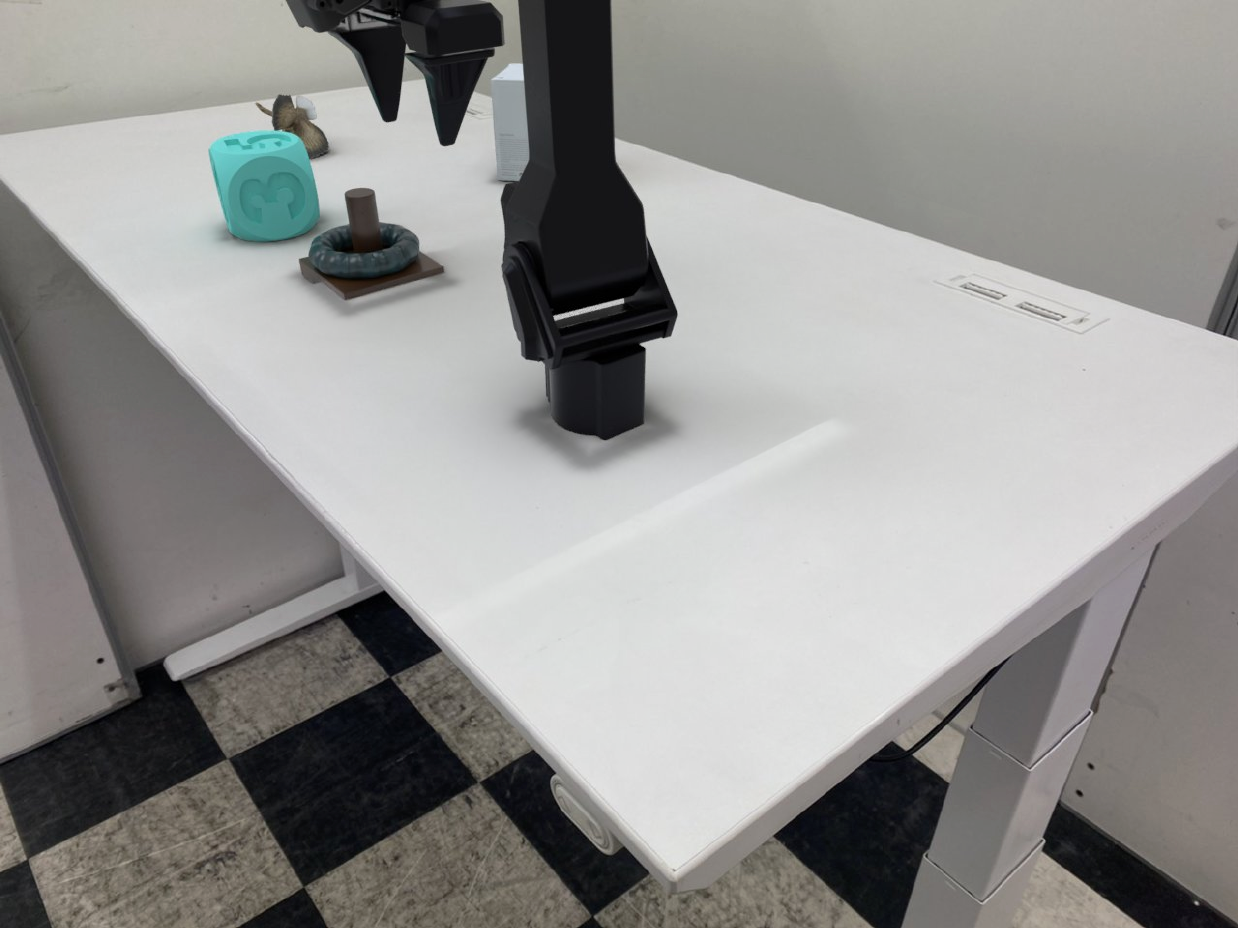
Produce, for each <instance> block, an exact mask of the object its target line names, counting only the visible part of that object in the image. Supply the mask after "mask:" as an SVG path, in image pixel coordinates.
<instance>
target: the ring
mask: <svg viewBox="0 0 1238 928" xmlns="http://www.w3.org/2000/svg"><path fill="white" fill-rule="evenodd" d="M379 223H380V230H381V237H382V244H383V246H386V247H390V248H387V249H383V250H379V251H376V252H372V253H355V254H349V253H343V252H341V251H343V250H347V249H351V248H353V243H352V237H351V231H350V225H349V223H348V224H343V225H340V226H336V227H332V228H329V229H328V230H326V231H324V232H323V233H320V234H319V235H317V236H316V237H314V238H313V239H312V242H311V243H310V246H309V250H308V256H307V257H309V260H310V262H311V263H312V264H313V265H314V266H315V267H316V268H318V269H319V270H320V271H322V272H323V273H325V274H327V275H331V276H336V277H341V278H347V279H360V278H376V277H380V276H384V275H388V274H391V273H395V272H399V271H401V270H403V269H404V268H405V267H407V266H408V265H410V264H411V263H413V262H414V261H415V260H416V259H417V258H418V255H419V251H420V239H419V237H418V235H417V234H416V233H415V232H412V231H411V230H409V229H408V228H406V227H405V226H402V225H400V224H397V223H396V224H395V223H389V222H382V221H379Z"/></svg>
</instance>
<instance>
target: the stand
mask: <svg viewBox="0 0 1238 928" xmlns="http://www.w3.org/2000/svg"><path fill="white" fill-rule="evenodd" d="M344 200H345V208H346V212H347V218H348V224H349V225H350V231H351V237H352V243H353V248H351V249H347V250H343V251H341V252H343V253H349V254H355V253H372V252H376V251H379V250H383V249H387V248H390V247H386V246H383V244H382V237H381V230H380V223H379V222H380V217H379V211H378V204H377V196H376V192H375V190H374V189H372V188H369V187H357V188H356V187H355V188H351V189H348V190H346V191H345V192H344ZM298 264H299V268H300V273H301V276H302V277H304V278H305V279H306V280H308V281H309V282H310V283H311V284H312V285H316V284H319V283H322V284H323V285H325V287H327V288H328V289H329V290H331V291H332V292H334V293H335V294H336V295H337V296H339V297H340V298H342V300H344V301H348V300H352V299H356V298H359V297H362V296H366V295H369V294H372V293H377V292H380V291H384V290H387V289H391V288H395V287H398V286H401V285H405V284H408V283H413V282H415V281H419V280H423V279H427V278H430V277H433V276H436V275H440V274H443V273H445V267H444V265H443V264H440V263H439V262H437V261H436V260H434V259H433V258H431V257H429V256H428V255H426V254H425V253H423V252H421V251H420V250H419V255H418V258H417V259H416V260H415V261H414V262H413V263H411V264H410V265H408V266H407V267H405V268H404V269H403V270H401V271H399V272H395V273H391V274H388V275H384V276H380V277H376V278H360V279H347V278H341V277H336V276H331V275H327V274H325V273H323V272H322V271H320V270H319V269H318V268H316V267H315V266H314V265H313V264H312V263H311V262H310V260H309V256H306V257H301V258H298Z"/></svg>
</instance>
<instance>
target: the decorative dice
mask: <svg viewBox="0 0 1238 928" xmlns="http://www.w3.org/2000/svg"><path fill="white" fill-rule="evenodd" d="M207 152H208V157H209V163H210V167H211V172H212V176H213V177H212V178H213V181H214V184H215V189H216V192H217V196H218V198H219V204H220V207H221V210H222V213H223V216H224V220H225V223H226V225H227V228H228V231H229V233H230V234H231V235H233V236H234V237H236V238H238V239H241V240H244V241H249V242H277V241H282V240H287V239H288V240H289V239H292V238H295V237H299V236H302V235H304V234H307V233H308V232H309V231H311V230H312V229H313V228H314V227H315V225H316V224H317V223H318V221H319V220H320V217H321V216H320V215H321V210H320V208H321V207H320V201H319V194H318V188H317V183H316V178H315V174H314V171H313V166H312V163H311V161H310V160H311V159H309V157H308V154H307V151H306V148H305V146H304V144H303V142H302V140H301V139H300V138H299V137H298V136H296V135H295V134H292V133H289V132H283V131H282V130H279V131H274V130H252V131H251V130H250V131H244V132H243V131H242V132H237V133H232V134H229V135H225V136H221V137H220V138H217V139H216V140H214V141H213V142H212V143H211V145H210V146H209V148H208V151H207Z"/></svg>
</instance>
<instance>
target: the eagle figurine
mask: <svg viewBox="0 0 1238 928" xmlns="http://www.w3.org/2000/svg"><path fill="white" fill-rule="evenodd" d="M254 104H255V106H256V107H257V108H258V109H259V110H260V112H262V113H263V114H264V115H267V116H269V117H271V124H272V128H273V131H283V132H289V133H292V134H295V135H296V136H298V137H299V138H300V139H301V140H302V142H303V144H304V146H305V148H306V151H307V154H308V157H309V160H312V159H315V158H318V157H320V156H321V155H324V154H325V153H326V152H328V150H329V146H330V145H329V142H328V139H327V137H326V134H325V132H324V131H323V130H322V128H320V127H319V126H318V125H316V124H315V123H313V122H312V121H315V120H317V118H318V114H317V111H316V106H315V105H314V102H313V101H312V99H311V100H310V98H308V97H306V96H303V95H296V98H295V104H294V102H293V98H292V95H290V94H285V95H284V94H280V93H279V94H277V96H276V98H275V99H274V101H273V104H272V109H271V110H270V109H268V108H266V107H264V106H263V105H262V104H261V103H260V102H255V103H254ZM295 106H296V107H295Z"/></svg>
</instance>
